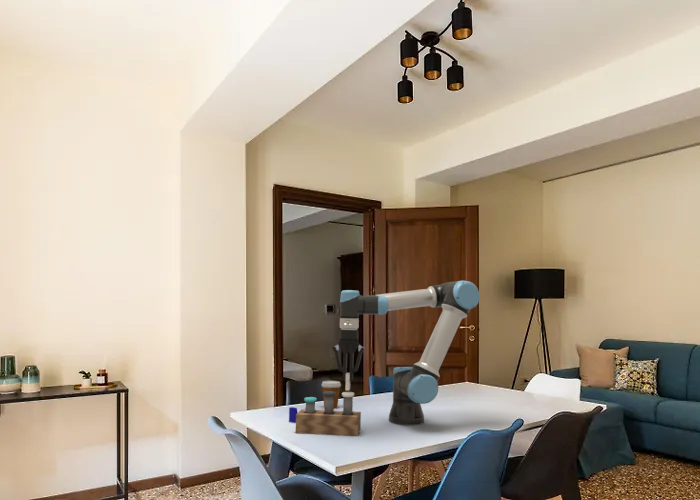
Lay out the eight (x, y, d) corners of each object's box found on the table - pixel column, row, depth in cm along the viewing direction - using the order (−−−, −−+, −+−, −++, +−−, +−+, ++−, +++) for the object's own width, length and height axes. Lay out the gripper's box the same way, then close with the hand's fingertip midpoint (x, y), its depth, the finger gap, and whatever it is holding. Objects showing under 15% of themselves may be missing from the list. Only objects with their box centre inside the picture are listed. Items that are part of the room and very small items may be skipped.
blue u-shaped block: (296, 423, 216) (297, 409, 217) (288, 422, 219) (289, 407, 220) (315, 418, 226) (315, 404, 226) (307, 417, 228) (308, 403, 229)
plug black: (335, 414, 206) (336, 391, 207) (333, 417, 201) (334, 393, 202) (324, 414, 207) (324, 390, 208) (321, 416, 202) (322, 392, 203)
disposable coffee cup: (332, 410, 243) (332, 384, 244) (316, 407, 249) (317, 382, 250) (344, 407, 251) (345, 382, 252) (329, 404, 256) (329, 380, 258)
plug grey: (354, 415, 205) (355, 392, 206) (353, 418, 200) (353, 394, 201) (342, 414, 206) (343, 391, 207) (340, 417, 201) (341, 393, 202)
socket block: (360, 429, 207) (360, 411, 207) (357, 436, 197) (357, 417, 198) (301, 426, 210) (302, 409, 211) (295, 432, 200) (296, 414, 201)
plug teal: (317, 420, 207) (317, 397, 208) (314, 423, 202) (315, 399, 203) (305, 419, 208) (305, 396, 208) (302, 422, 203) (303, 398, 204)
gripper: (331, 329, 204) (329, 390, 201) (364, 330, 202) (363, 392, 199) (334, 328, 211) (333, 387, 209) (366, 329, 209) (365, 389, 207)
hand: (347, 389), depth 204 cm, fingers closed
